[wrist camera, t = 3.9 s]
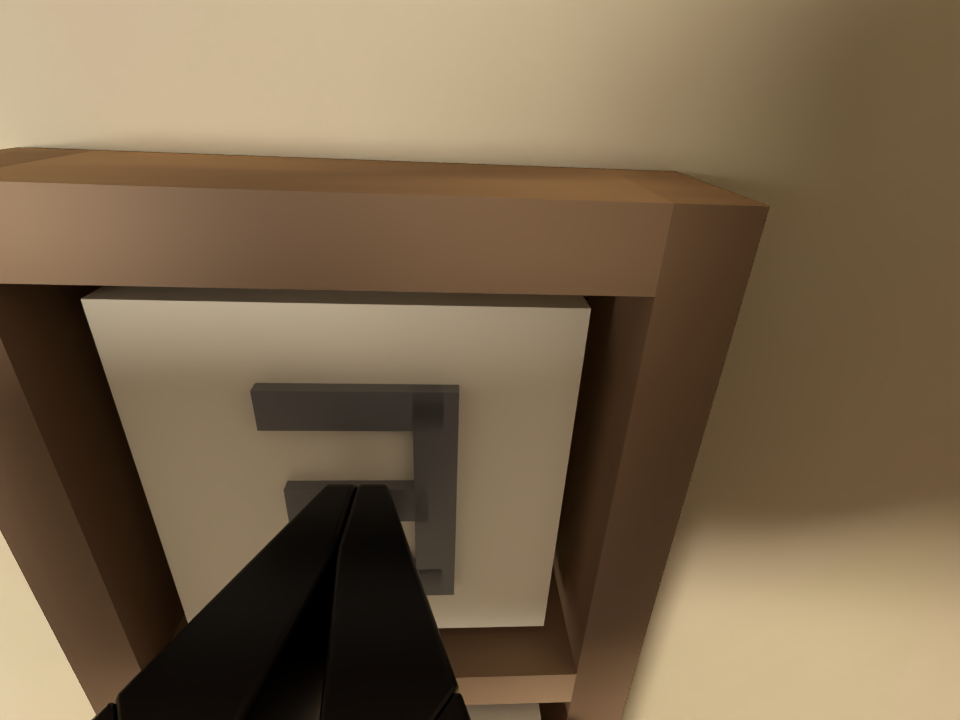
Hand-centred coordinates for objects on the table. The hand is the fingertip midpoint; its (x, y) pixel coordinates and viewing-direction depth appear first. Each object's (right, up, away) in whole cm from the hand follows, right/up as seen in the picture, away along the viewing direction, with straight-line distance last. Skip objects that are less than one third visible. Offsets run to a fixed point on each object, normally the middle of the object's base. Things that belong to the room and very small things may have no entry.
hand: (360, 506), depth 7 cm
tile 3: (0, +1, +1) cm, 2 cm away
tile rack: (0, -6, +5) cm, 8 cm away
